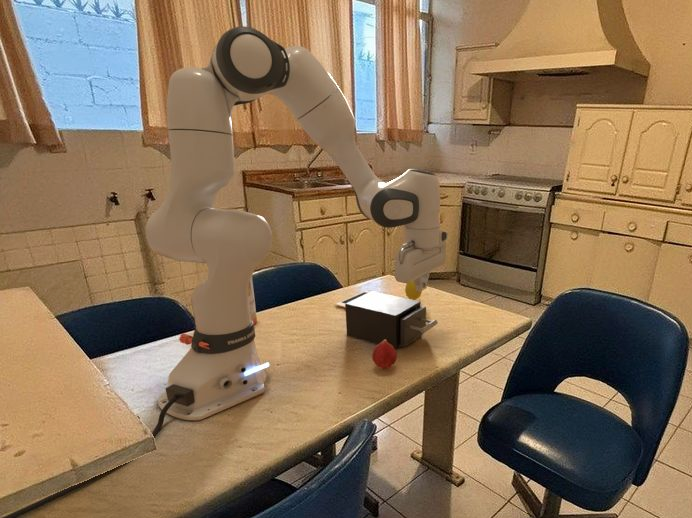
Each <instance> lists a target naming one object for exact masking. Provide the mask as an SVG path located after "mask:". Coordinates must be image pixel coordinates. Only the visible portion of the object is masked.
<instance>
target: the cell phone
mask: <svg viewBox="0 0 692 518" xmlns="http://www.w3.org/2000/svg"><path fill="white" fill-rule="evenodd" d="M369 292H370V291H369V290H366V291H362V292H360V293H358V294H355V295H353V296H351V297H349V298H346V299H344V300H341V301H339V302H337V303H335V306H336V307H340V308H344V309H345V304H346V303H348V302H350V301H352V300H354V299H357V298H359V297H361V296H363V295H365V294H367V293H369Z"/></svg>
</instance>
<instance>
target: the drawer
mask: <svg viewBox="0 0 692 518" xmlns="http://www.w3.org/2000/svg"><path fill="white" fill-rule="evenodd" d="M397 323H398V343H399V342H400V341H401V346H400V347H402V348H406V347H407V346H408V345H410V344H411V343H413V342H414V341H415V340H417V339H418V338H420V337H421V336H422V335H424V334H425V333H427V332H428V331H430V330H431V329H432V328H434V327H435V326H436V325H438V323H439V322H438V320H437V319H433V320H431V319H427V306H426V305H422V306H421V305H420V308H418V309H417V306H416V307H415V308H413V309H411V310H409V311H408V312H406V313H404V314H403V315H401V316H399V317H398V318H397Z"/></svg>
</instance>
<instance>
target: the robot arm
mask: <svg viewBox="0 0 692 518" xmlns="http://www.w3.org/2000/svg"><path fill="white" fill-rule="evenodd" d="M265 95H271V96H273V97H275V98H277V99H279V100H280V101H281V102H282V103H283V104H284V105H285V106H286V107H287V108H288V110H289V112H290V113H291V115H292V116H293V118H294V119H295V120H296V122H297V123H298V125H299V126H300V127H301V128H302V129H303V131H304V133H306V134H307V135H308V137H309V138H310V139H311V140H312V141H313V142H314V143H315V144H317V146H318V147H319V148H321V149H322V150H323V151H324V152H325V153H326V154H327V155H329V157H330V158H331V159H332V160H333V161H334V163H335V164H336V166H338V168H339V170H340V171H341V172H342V174H343V175H344V177H345V178H346V180H347V182H348V183H349V184H350V186H351V188H352V190H353V192H354V195H355V196H354V197H355V200H356V205H357V208H358V210H359V212H360V213H361V215H362V216H364V217H365V218H366V219H368V220H370V221H372V222H373V223H375V224H376V225H378V226H379V227H382V228H385V229H392V228H397V227H401V226H403V244H401V247H400V248H399V250H398V252H397V253H396V257H395V263H394V264H395V265H394V279H395V281H396V282H398V283H402V284H407V283H409V282H411V281H414V283H415V290H416V291H418V292H421V291H422V292H423V291H424V290H426V289H427V288H428V281H429V279H430V275H431V274H430V272H433V271H434V270H436V269H438V268H440V267H442V266H444V264H445V262H446V257H447V240H448V236H449V232H448V231H446V230H443V229H440V228H441V225H440V220H439V213H440V210H441V186H440V180H439V177H438V175H436V174H435V173H433V172H431V171H427V170H423V169H419V168H409V169H407V170H406V171H405V172H404V173H403V174H402V175H400V176H399V177H397V178H395V179H393V180H391V181H389V182H386V181H384V180H383V179H381V178H379V177H378V176H377V174H375V173H374V171H373V170H372V168H371V167H370V165H369V164H368V162H367V160H366V159H365V156H364V155H363V154H362V152H361V151H360V149H359V146H358V145H357V143H356V139H355V127H356V119H355V116H354V114H353V111H352V109H351V107H350V105H349V102H348V101H347V99H346V97H345V95H344V94H343V92H342V90H341V89H340V88H339V86H338V85H337V82H336V81H335V80H334V79H333V77H332V76H331V74H330V73H329V71H327V69H326V68H325V67H324V66H323V64H322V63H321V62H320V61H319V59H317V58H316V56H315V55H314V54H313V53H312V52H311V51H310V50H309V49H307V48H306V47H304V46H302V45H293V46H289V47H283V46H282V45H281V44H279V43H277V42H276V41H274V40H272V39H271V38H269V37H268V36H267V35H266V34H265V33H263V32H261V31H259V30H258V29H256V28H254V27H250V26H245V25H243V26H240V25H239V26H235V27H232V28H230V29H228V30H226V31H225V32H224V33H223V34H222V35H221V36H220V38H219V39H218V42H217V43H216V45H215V46H214V48H213V50H212V54H211V56H210V59H209V61H208V65H207V66H205V67H196V66H188V67H182V68H179V69H176V71H174V72H173V73H172V74H171V76H170V77H169V81H168V88H167V100H166V102H167V103H166V110H167V111H166V115H167V129H168V140H169V152H170V180H169V185H168V189H167V192H166V195H165V197H164V199H163V202H162V203H161V204H160V206H159V208H158V209H156V210H155V211H153V213H151V215H150V216H149V217H148V220H147V222H146V225H145V238H146V241H147V244H148V246H149V248H150V249H151V250H152V251H153V252H154V253H155V254H157V255H159V256H162V257H164V258H167V259H171V260H174V261H178V262H184V263H185V262H186V263H198V264H206V266H207V270H208V271H207V272H208V273H207V279H206V280H204V281H201V282H200V283H199V284H198V285H197V286H195V288H194V289H193V290H192V293H191V294H190V303H191V308H192V313H193V318H194V324H195V328H194V330H193V334H192V335H190V334H188V333H182V334H180V335H179V337H178V340H179V342H180V343H181V344H185V345H187V346H188V345H190V346H191V348H190V349H189V350H188V351H187V352H186V354H185V355H184V356H183V357H182V358H181V360H179V362H178V363H177V364H176V365H175V366H174V368H173V369H172V370H171V371H170V373H169V375H168V378H167V387H165V392H164V393H162V394H161V395H159V396H158V398H157V404H158V407H159V408H160V410H161V411H160V413H159V416H158V420H157V423H156V426H155V427H154V429H153V431H152V433H151V434H153V436H154V439H155V438H156V437H157V435H158V434H159V433H160V430H161V428H162V427H163V425H164V421H165V416H166V414H167V415H169V416H171V417H174V418H177V419H180V420H185V421H202V420H204V419H206V418H208V417H210V416H213V415H215V414H218V413H220V412H223V411H224V410H227V409H230V408H231V407H234V406H236V405H239V404H240V403H243V402H246V401H247V400H250V399H252V398H255V397H257V396H260V395H261V394H264V393H265V391H266V389H265V388H266V387H265V382H266V381H267V374H266V372H265V370H264V369H266V368H268V367H270V363H269V362H266V363H263V364H262V363H261V360H260V357H259V354H258V350H257V347H256V341H255V338H256V331H255V325H254V324H253V321H252V320H251V316H250V307H249V294H248V290H249V283H250V279H251V276H252V277H253V274H254V272H255V271H256V269H257V268H258V267H259V266H260V265H261V264H262V263H264V261H266V260H267V259H268V257H269V256H270V254H271V252H272V249H273V245H274V236H273V232H272V229H271V226H270V224H269V223H268V222H267V220H266V219H265V218H264V217H263V216H261V215H258V214H255V213H251V212H248V211H245V210H240V209H224V208H215V202H216V199H217V196H218V194H219V192H220V190H221V189H223V188H226V187H227V186H228V185H230V184H231V183H232V182H233V180H234V178H235V175H236V164H235V163H236V162H235V148H234V147H235V146H234V136H233V135H234V133H233V124H232V123H233V122H232V116H233V109H234V107H235V106H239V105H245V104H250V103H252V102H254V101H256V100H258V99H260V98H262V97H264V96H265ZM422 292H421V293H422ZM119 467H120V466H118V467H116V468H114V469H112V470H110V471H107V472H105V473H103V474H100V475H98V476H95V477H93V478H91V479H89V480H87V481H84V482H82V483H79V484H77V485H74V486H71V485H70V486H71V487H69V486H68V487H69V488H67V487H66V488H67V489H65V488H63V489H64V490H63V489H61V490H62V491H61V490H59V491H60V492H59V491H56V492H57V493H56V492H54V493H55V494H54V493H52V494H53V495H52V494H50V495H48V496H46V497H44V498H41V499H40V500H37V501H35V502H33V503H31V504H29V505H27V506H25V507H22V508H20V509H18V510H16V511H14V512H11V513H9V514H7V515H5V516H2V517H1V518H18V517H21V516H24V515H26V514H28V513H31V512H32V511H34V510H36V509H38V508H40V507H42V506H45V505H47V504H49V503H51V502H53V501H56V500H57V499H60V498H61V497H63V496H65V495H68V494H69V493H72V492H73V491H76V490H78V489H80V488H82V487H85V485H88V484H89V483H91V482H93V481H95V480H97V479H99V478H101V477H102V476H104V475H106V474H109V473H110V472H112V471H114V470H116V469H117V468H119Z"/></svg>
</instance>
